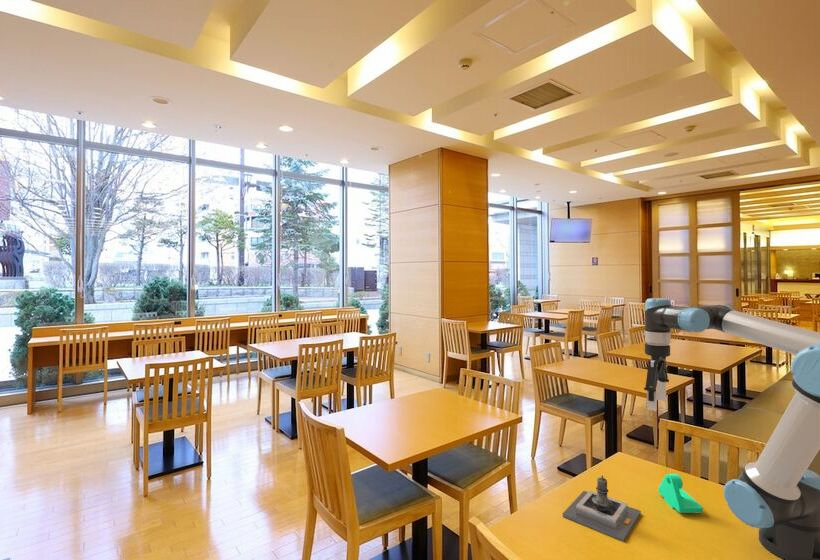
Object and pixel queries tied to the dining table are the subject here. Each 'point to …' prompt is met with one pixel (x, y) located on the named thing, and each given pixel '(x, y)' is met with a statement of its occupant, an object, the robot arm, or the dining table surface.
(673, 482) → the camera mount
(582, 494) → the plate
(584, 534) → the dining table surface
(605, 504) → the gray metallic stepped cylinder
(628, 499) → the dining table surface
